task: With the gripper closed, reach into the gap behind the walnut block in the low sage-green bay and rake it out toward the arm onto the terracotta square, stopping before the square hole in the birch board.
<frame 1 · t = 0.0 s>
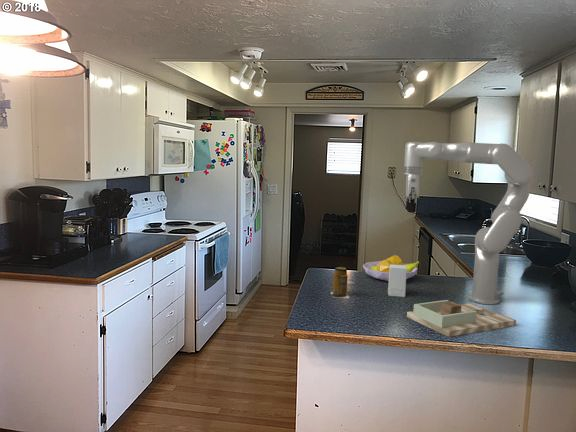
hand: (410, 210, 210), 37 cm above the worktop, tool pointing down, fingers open, 9 cm apart
fruit bowl: (390, 279, 243), on the worktop
walnut block: (450, 317, 179), point 2 cm above the worktop, touching board
condiment: (339, 296, 211), on the worktop
supplement box: (396, 294, 215), on the worktop
low bay: (444, 313, 177), on the board, point 4 cm above the worktop
board: (460, 321, 181), on the worktop
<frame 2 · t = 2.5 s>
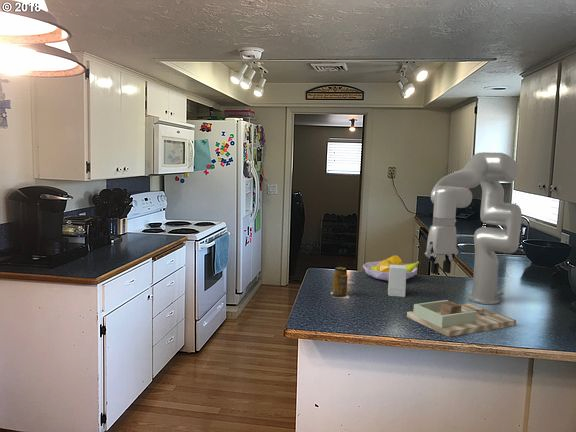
hand: (440, 272, 174), 19 cm above the worktop, tool pointing down, fingers open, 4 cm apart
nothing on the worktop moved.
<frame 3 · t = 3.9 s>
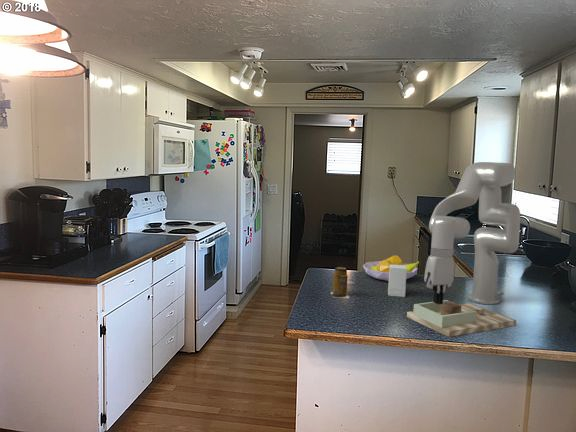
hand: (437, 303, 175), 8 cm above the worktop, tool pointing down, fingers closed
nothing on the worktop moved.
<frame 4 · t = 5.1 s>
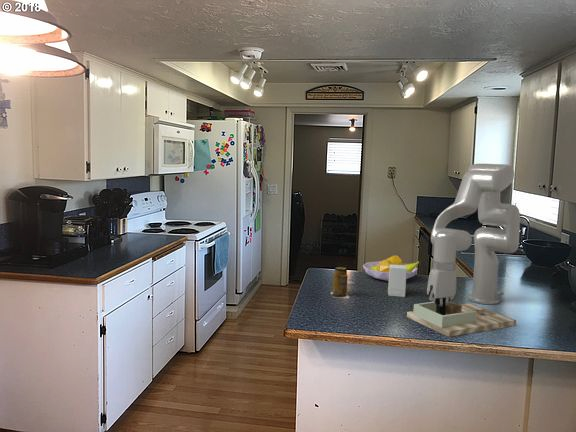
hand: (440, 315, 177), 3 cm above the worktop, tool pointing down, fingers closed
walnut block: (450, 317, 179), point 2 cm above the worktop, touching board, gripper
everything else where it was.
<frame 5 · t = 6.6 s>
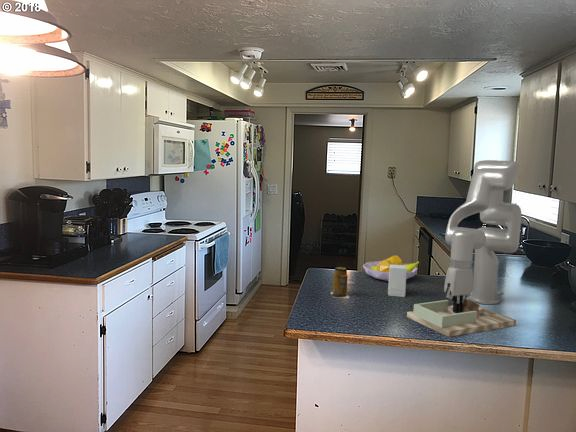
hand: (457, 312, 180), 3 cm above the worktop, tool pointing down, fingers closed
walnut block: (465, 313, 181), point 3 cm above the worktop, tilted 20°, touching gripper
everything else where it was.
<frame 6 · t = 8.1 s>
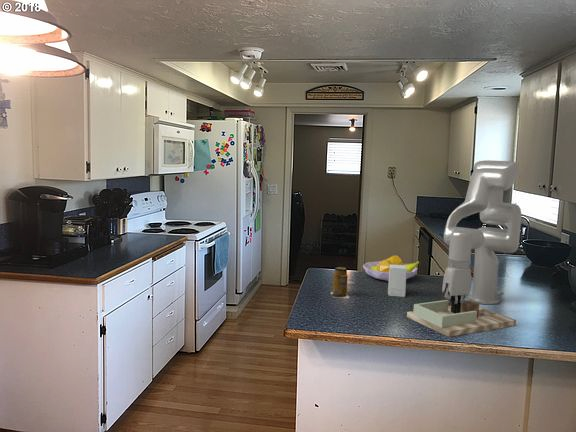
hand: (455, 312, 180), 4 cm above the worktop, tool pointing down, fingers closed
walnut block: (468, 315, 182), point 2 cm above the worktop, touching board
everything else where it was.
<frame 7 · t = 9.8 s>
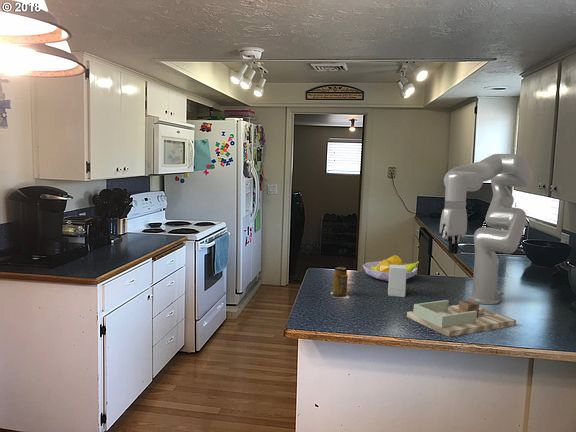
hand: (452, 253, 187), 24 cm above the worktop, tool pointing down, fingers closed
nothing on the worktop moved.
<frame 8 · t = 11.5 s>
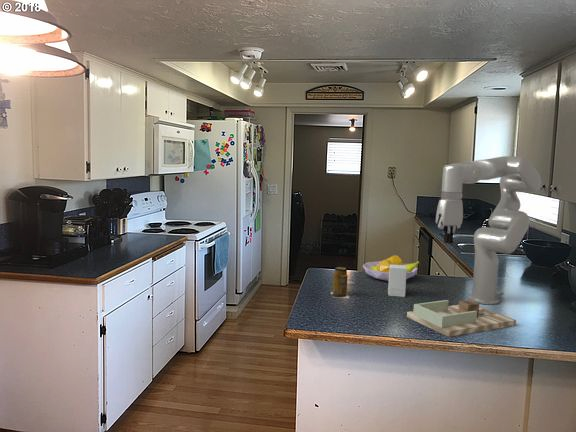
hand: (448, 242, 191), 27 cm above the worktop, tool pointing down, fingers closed
nothing on the worktop moved.
at the end: walnut block inside the target area (0.6 cm from its centre), point 2.0 cm above the worktop; walnut block tilted 0°; walnut block moved 8.1 cm from its start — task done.
